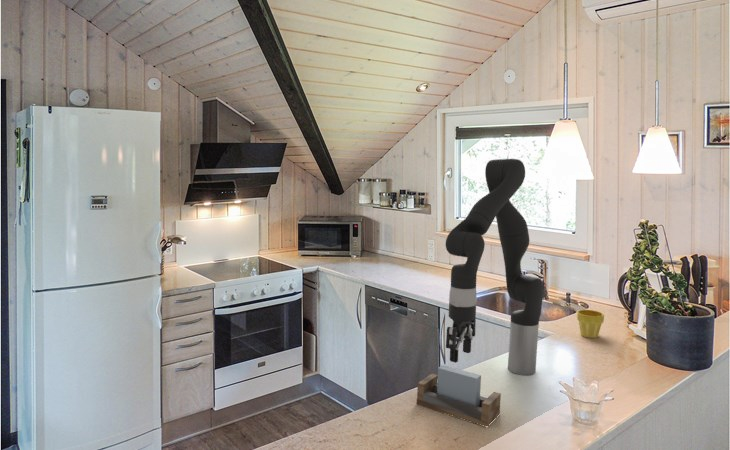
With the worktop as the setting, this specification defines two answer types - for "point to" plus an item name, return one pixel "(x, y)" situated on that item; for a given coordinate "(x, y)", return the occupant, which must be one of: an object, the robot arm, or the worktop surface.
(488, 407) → the door track
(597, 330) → the plant pot
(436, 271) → the worktop surface
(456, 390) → the light blue flat block
